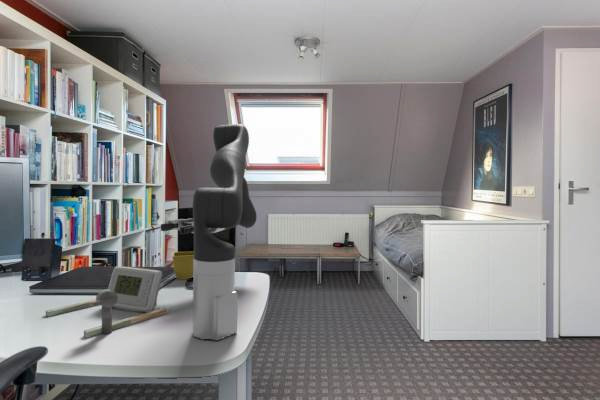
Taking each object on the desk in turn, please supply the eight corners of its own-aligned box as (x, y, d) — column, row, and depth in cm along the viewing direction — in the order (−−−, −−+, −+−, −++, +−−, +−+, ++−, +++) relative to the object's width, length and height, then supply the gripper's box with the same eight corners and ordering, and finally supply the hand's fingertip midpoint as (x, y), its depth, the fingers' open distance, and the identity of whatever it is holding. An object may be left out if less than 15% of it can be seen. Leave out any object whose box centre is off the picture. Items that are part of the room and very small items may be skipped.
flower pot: (172, 275, 136) (173, 251, 135) (197, 274, 138) (197, 251, 138) (172, 281, 127) (172, 256, 127) (198, 280, 130) (198, 255, 130)
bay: (172, 315, 95) (172, 278, 94) (91, 340, 78) (92, 296, 78) (122, 297, 109) (123, 265, 108) (45, 315, 92) (45, 277, 92)
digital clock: (100, 306, 100) (101, 267, 100) (130, 298, 108) (130, 262, 108) (139, 318, 92) (139, 276, 92) (168, 308, 100) (168, 269, 100)
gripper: (195, 209, 126) (155, 214, 112) (226, 212, 119) (187, 219, 105) (195, 230, 127) (155, 238, 113) (226, 235, 119) (187, 244, 106)
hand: (170, 229), depth 109 cm, fingers open, 8 cm apart
